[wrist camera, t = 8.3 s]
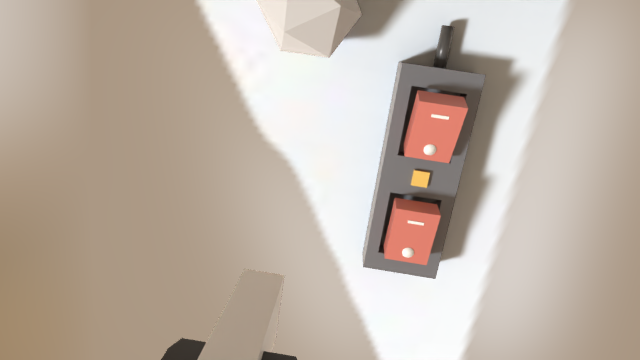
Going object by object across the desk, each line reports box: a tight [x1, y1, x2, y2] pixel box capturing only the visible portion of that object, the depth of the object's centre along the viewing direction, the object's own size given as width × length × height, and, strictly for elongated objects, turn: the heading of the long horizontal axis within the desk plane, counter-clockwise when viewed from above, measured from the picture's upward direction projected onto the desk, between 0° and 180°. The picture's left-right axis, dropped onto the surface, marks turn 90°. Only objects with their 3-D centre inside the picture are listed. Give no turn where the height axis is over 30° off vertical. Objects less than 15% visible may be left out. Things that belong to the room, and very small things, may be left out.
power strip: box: [363, 25, 486, 279], centre depth 45 cm, size 26×8×4 cm, turn 172°
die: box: [256, 0, 362, 58], centre depth 39 cm, size 8×9×10 cm
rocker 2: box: [384, 198, 441, 265], centre depth 44 cm, size 6×4×2 cm
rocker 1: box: [404, 90, 468, 163], centre depth 41 cm, size 6×4×2 cm
